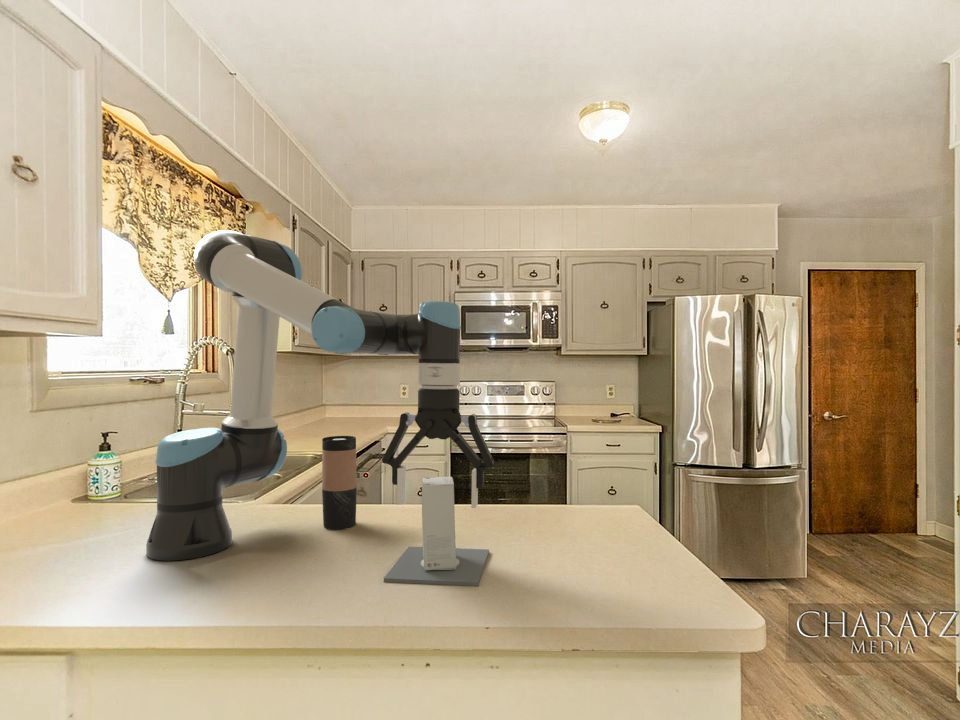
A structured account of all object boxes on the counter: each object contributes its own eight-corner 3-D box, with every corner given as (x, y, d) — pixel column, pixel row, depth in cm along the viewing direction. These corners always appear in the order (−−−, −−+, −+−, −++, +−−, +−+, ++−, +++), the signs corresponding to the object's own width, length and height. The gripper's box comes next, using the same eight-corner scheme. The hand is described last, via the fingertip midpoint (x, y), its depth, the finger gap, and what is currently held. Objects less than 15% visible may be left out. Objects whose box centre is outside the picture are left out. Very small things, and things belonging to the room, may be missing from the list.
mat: (383, 581, 90) (383, 577, 90) (408, 549, 106) (408, 545, 106) (477, 586, 88) (477, 581, 88) (489, 552, 104) (489, 548, 104)
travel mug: (361, 521, 126) (360, 435, 126) (350, 531, 118) (349, 440, 119) (329, 520, 127) (329, 435, 127) (316, 530, 119) (316, 440, 119)
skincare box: (456, 570, 93) (456, 484, 93) (421, 571, 93) (421, 485, 93) (454, 553, 102) (454, 474, 102) (422, 554, 101) (422, 475, 101)
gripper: (365, 387, 95) (364, 506, 95) (505, 389, 92) (504, 513, 92) (379, 385, 103) (377, 495, 103) (509, 387, 100) (507, 502, 100)
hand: (437, 504), depth 97 cm, fingers open, 13 cm apart
